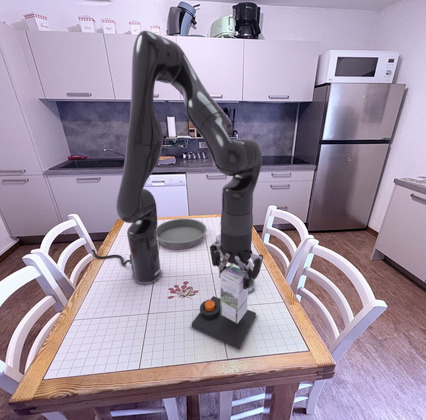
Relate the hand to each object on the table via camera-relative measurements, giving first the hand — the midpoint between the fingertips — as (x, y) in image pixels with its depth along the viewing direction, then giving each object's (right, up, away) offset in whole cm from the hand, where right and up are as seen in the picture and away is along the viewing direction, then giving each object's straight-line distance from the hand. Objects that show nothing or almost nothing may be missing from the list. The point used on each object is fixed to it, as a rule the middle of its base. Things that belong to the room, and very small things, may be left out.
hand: (234, 283), depth 62 cm
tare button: (-7, -10, +8) cm, 15 cm away
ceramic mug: (+3, -7, +23) cm, 24 cm away
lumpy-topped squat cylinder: (-1, +1, +42) cm, 42 cm away
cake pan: (-25, +6, +52) cm, 58 cm away
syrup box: (0, -10, +4) cm, 11 cm away
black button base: (-3, -14, +7) cm, 16 cm away
